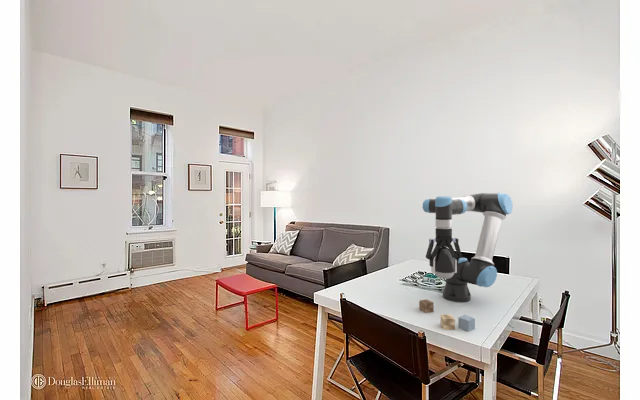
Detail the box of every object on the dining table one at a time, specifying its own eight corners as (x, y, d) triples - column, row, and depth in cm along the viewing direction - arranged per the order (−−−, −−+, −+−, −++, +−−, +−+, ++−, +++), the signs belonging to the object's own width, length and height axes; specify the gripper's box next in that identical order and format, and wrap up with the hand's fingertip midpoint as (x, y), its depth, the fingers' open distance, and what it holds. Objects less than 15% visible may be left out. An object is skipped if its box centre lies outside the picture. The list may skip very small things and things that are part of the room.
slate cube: (464, 325, 148) (464, 314, 148) (474, 328, 144) (474, 318, 144) (458, 327, 146) (458, 317, 146) (468, 331, 142) (468, 320, 141)
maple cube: (451, 325, 149) (451, 314, 149) (455, 329, 144) (454, 319, 144) (440, 324, 149) (440, 314, 149) (443, 329, 144) (443, 318, 144)
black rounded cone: (449, 274, 161) (449, 244, 161) (459, 280, 151) (459, 248, 150) (429, 274, 161) (429, 245, 160) (438, 280, 151) (437, 249, 150)
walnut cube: (427, 308, 170) (427, 299, 169) (433, 311, 165) (433, 302, 165) (419, 309, 168) (419, 300, 168) (425, 313, 163) (425, 303, 163)
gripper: (462, 226, 159) (462, 269, 160) (418, 227, 158) (418, 271, 159) (470, 228, 152) (470, 273, 153) (424, 229, 150) (424, 275, 151)
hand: (443, 272), depth 156 cm, fingers closed on black rounded cone, 10 cm apart
